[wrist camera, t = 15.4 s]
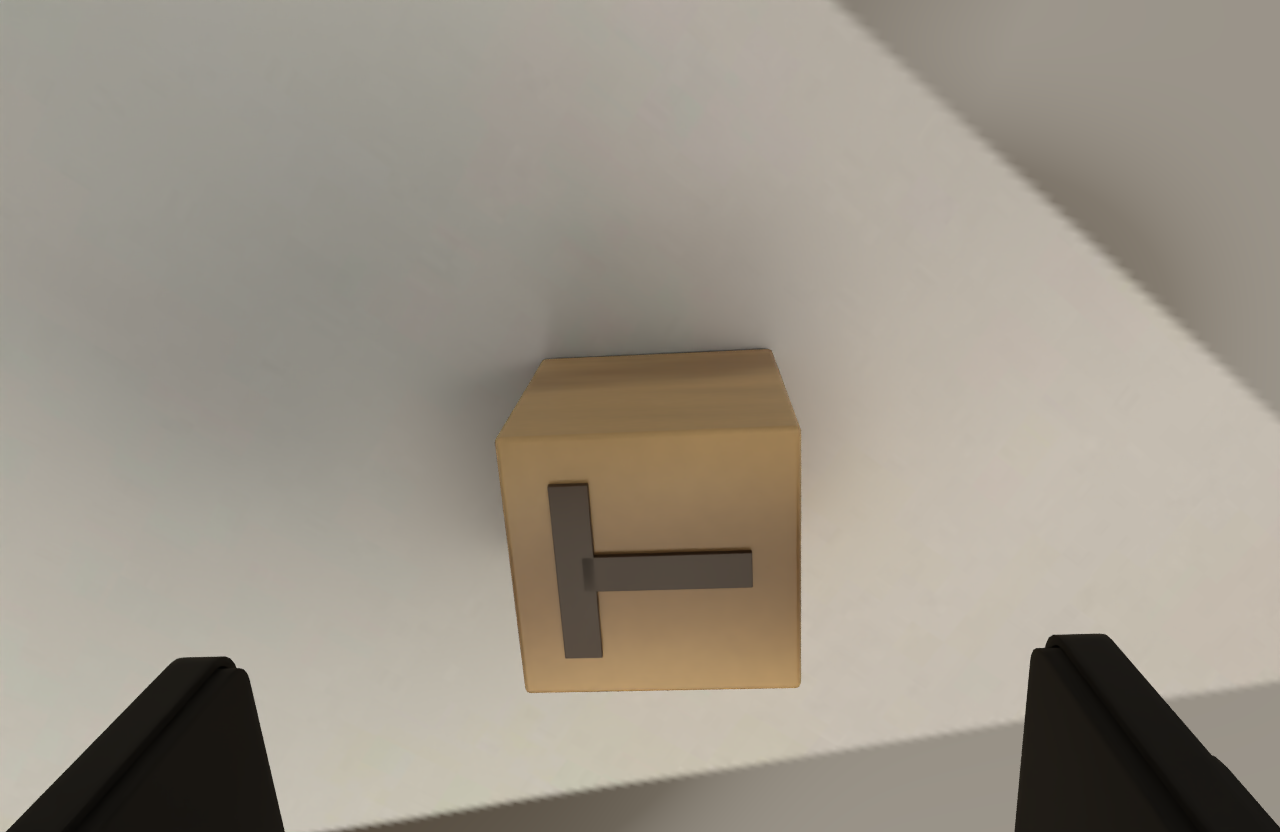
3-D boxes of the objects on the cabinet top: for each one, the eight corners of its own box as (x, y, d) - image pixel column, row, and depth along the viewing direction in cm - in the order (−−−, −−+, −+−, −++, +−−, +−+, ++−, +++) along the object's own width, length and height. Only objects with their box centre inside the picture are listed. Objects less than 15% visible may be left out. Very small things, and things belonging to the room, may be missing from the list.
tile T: (541, 358, 17) (492, 441, 12) (772, 347, 16) (802, 429, 12) (562, 560, 18) (523, 698, 14) (774, 555, 18) (802, 694, 14)
